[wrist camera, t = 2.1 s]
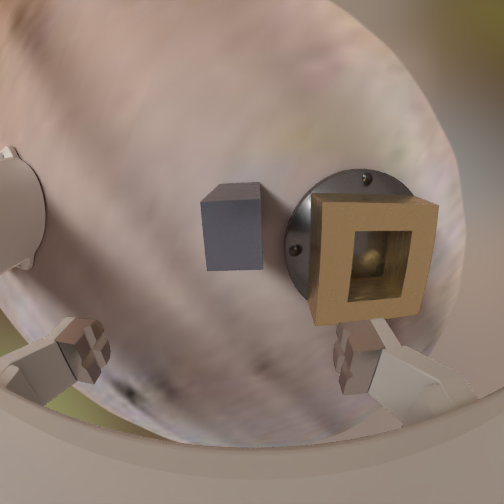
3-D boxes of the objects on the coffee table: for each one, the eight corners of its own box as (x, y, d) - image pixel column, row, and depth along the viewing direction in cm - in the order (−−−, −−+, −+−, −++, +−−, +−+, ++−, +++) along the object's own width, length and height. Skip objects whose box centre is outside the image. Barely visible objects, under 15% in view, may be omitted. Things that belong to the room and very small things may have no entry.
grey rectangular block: (222, 231, 29) (207, 270, 20) (219, 184, 27) (200, 202, 18) (260, 229, 29) (263, 269, 20) (259, 182, 27) (260, 199, 18)
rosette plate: (283, 313, 32) (288, 346, 27) (283, 167, 26) (291, 171, 21) (407, 303, 32) (429, 329, 26) (426, 174, 26) (458, 181, 20)
